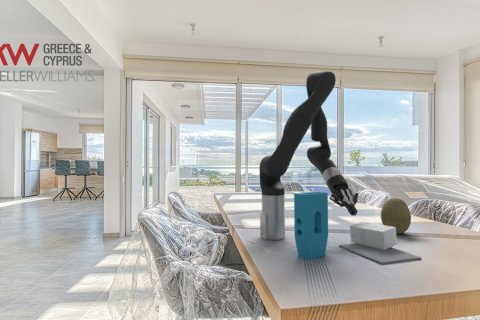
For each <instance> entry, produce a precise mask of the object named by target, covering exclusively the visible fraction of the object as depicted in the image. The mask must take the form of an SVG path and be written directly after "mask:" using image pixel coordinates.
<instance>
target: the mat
mask: <svg viewBox="0 0 480 320" xmlns="http://www.w3.org/2000/svg"><path fill="white" fill-rule="evenodd" d="M338 247H339V248H342V249H344V250H345V251H349V252H351V253H353V254H356V255H358V256H361V257H362V258H364V259H367V260H370V261H372V262H375V263H376V264H379V265H387V264H389V265H390V264H395V263H404V262H405V263H406V262H413V261H421V260H422V257H421V256H418V255H415V254H413V253H409V252H406V251H403V250H400V249H397V248H395V247H390V248H388V249H386V250H382V249H378V248H374V247H369V246H365V245H361V244H357V243H345V244H339V245H338Z"/></svg>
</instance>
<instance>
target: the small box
mask: <svg viewBox="0 0 480 320" xmlns="http://www.w3.org/2000/svg"><path fill="white" fill-rule="evenodd" d="M349 233H350V242H351V243H352V244H354V243H357V244H361V245H365V246H369V247H374V248H378V249H382V250H386V249H388V248H390V247H392V248H394V247H395V246H397V245H398V244H397V243H398V242H397V234H396V227H391V226H385V225H383V224H379V223H372V222H367V221H359V222H357V223H353V224H350V225H349Z"/></svg>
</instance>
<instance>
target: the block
mask: <svg viewBox="0 0 480 320" xmlns="http://www.w3.org/2000/svg"><path fill="white" fill-rule="evenodd" d="M328 196H329V192H327V191H326V192H324V191H310V192H309V191H308V192H300V193H293V201H294V202H293V203H294V204H293V206H294V207H293V211H294V213H293V214H294V217H293V219H294V220H293V221H294V229H293V230H294V240H295V241H294V242H295V245H296V251H297V255H298V258H302V259H304V260H308V261H309V260H310V261H311V260H315V259H319V258H321V257H325V256H326V251H327V246H328V245H327V244H328V240H329V239H328V237H329V197H328Z"/></svg>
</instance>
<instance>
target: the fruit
mask: <svg viewBox="0 0 480 320" xmlns="http://www.w3.org/2000/svg"><path fill="white" fill-rule="evenodd" d="M380 219H381V223H382V225H385V226H391V227H396V235H397V234H398V235H400V234H404V233H405V232H407V231H408V230H409V228H410V226H411V222H412V215H411V211H410V208H409V206H408V204H407V203H406V202H405V200H403V199H401V198H398V197H394V198H393V197H392V198H389V199H387V200H386V201H385V202H384V204H383V205H382V207H381V210H380Z"/></svg>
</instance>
